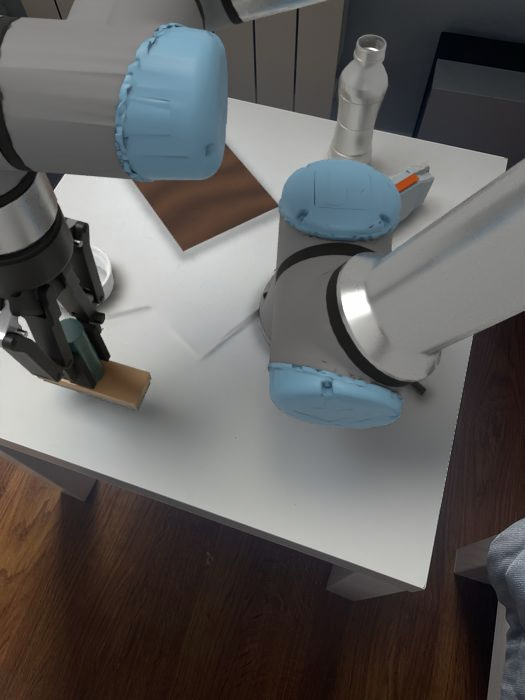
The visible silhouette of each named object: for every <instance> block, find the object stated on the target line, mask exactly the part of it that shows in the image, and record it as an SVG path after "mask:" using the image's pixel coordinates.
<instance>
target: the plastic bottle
mask: <svg viewBox="0 0 525 700" xmlns="http://www.w3.org/2000/svg"><path fill="white" fill-rule="evenodd" d="M386 49H387V41H386V39H385V38H383V37H382V36H379V35H376V34H364V35H362V36H360V37H359V38H358V39H357V41H356V44H355V49H354V51H353V55H352V56H353V60H351V61H349V63H348V64H347V65H346V66H345V67H344V68H343V70H342V71H341V73H340V75H339V78H338V84H337V85H338V86H337V87H338V91H337V92H338V94H337V95H338V106H337V116H336V117H337V118H336V123H335V128H334V132H333V137H332V139H331V141H330V144H329V147H328V150H327V159H344V160H352V161H356V162H360V163H364V164H366V165H369V166H370V163H371V161H372V156H373V138H374V129H375V126H376V124H375V123H376V122H377V118H378V114H379V111H380V109H381V106H382V103H383V101H384V98H385V96H386V94H387V90H388V87H389V78H388V73H387V71H386V68H385V66H384V63H383V62H384V60H385V56H386Z"/></svg>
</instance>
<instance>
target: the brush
mask: <svg viewBox="0 0 525 700" xmlns="http://www.w3.org/2000/svg"><path fill="white" fill-rule="evenodd" d="M60 323H61V326H62V328H63V331H64V334H65V336H66V339H67V342H68V344H69V347H70V350H71V352H72V353H75V354H79V355H80V356H81V357H82V359H83V361H84V363H85V364H86V366H87V368H88V369H89V371H90V373H91V375H92V376H93V378H94V380H95V382H96V383H97V384H96V386H95V388H94V390H93V389H89V388H86V387H83V386H80V385H76V384H73V383H70V381H68V380H65V379H61V380H60V381H59V382H58V383H57V382H54V381H51V380H47V379H44V378H41V377H38V376H36V377H37V378H38V379H40V380H42V381H43V382H45V383H49V384H52V385H54V386H57V387H58V386H59V387H61V388H65V389H68V390H71V391H75V392H77V393H81V394H84V395H87V396H89V397H93V398H97V399H99V400H102V401H106V402H108V403H112V404H115V405H117V406H121V407H125V408H128V409H131V410H134V411H139V409H140V407H141V405H142V403H143V401H144V399H145V397H146V394H147V392H148V390H149V388H150V386H151V381H152V379H153V378H152V375H151V372H149V371H147V370H143V369H140V368H137V367H133V366H130V365H126V364H123V363H121V362H116V361H113V360H110V359H109V361H108V362H106V361H103V360H100V358H99V356H98V354H97V352H96V351H95V349H94V347H93V345H92V343H91V341H90V339H89V337H88V335H87V333H86V331H85V329H84V327H83V325H82V323H81V322H80V321H79V320H77V319H76V318H75V317H68V318H64V319H61V320H60Z"/></svg>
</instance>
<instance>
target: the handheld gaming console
mask: <svg viewBox="0 0 525 700" xmlns="http://www.w3.org/2000/svg"><path fill="white" fill-rule="evenodd" d="M430 169H431V167H430V166H429V165H428V163H426V162H422V163H419V164H415V165H411V166H408V167H406V168H405V169H403V170H401V171H400V172H398V173H396V174H395V175H393V176H392V177H389V179H390V180H391V181H392V182H393V183H394V184H395V186H396V187H397V189H398V191H399V194H400V197H401V210H400V214H401V215H400V216H401V218H400V220H399V223H401V222H402V221H404V220H405V219H406V218H408V217H409V216H410V214H411V213H412V211H414V209H416V208H418V207H419V206H420V205H422V204H423V203H424V202H425V200H426V198H427V196H428V194H429V192H430V190H431V188H432V185H433V183H434V182H435V179H436V178H435V176H434V175H432V174H431V173H430Z"/></svg>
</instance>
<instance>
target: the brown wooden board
mask: <svg viewBox="0 0 525 700" xmlns="http://www.w3.org/2000/svg"><path fill="white" fill-rule="evenodd" d="M132 182H133V184H134V185H135V186H136V187H137V189H138V190H139V192H140V193H141V195H142V196H143V197H144V199H145V200H146V202H147V204H149V206H150V207H151V208H152V210H153V211H154V213H155V215H157V217H158V218H159V220H160V221H161V222H162V224H163V225H164V227H165V228H166V229H167V231H168V232H169V234H170V235H171V236H172V238H173V240H175V242H176V244H178V246H179V247H180V249H181V251H182V252H185V251H187V250H190V249H192V248H193V247H196V246H198V245H200V244H202V243H204V242H206V241H208V240H211V239H214V238H215V237H218V236H220V235H221V234H224V233H226V232H228V231H230V230H233V229H234V228H237V227H238V226H240V225H243V224H245V223H247V222H249V221H251V220H253V219H256V218H257V217H259V216H261V215H264V214H266V213H268V212H271V211H272V210H275V209H277V208H278V204H279V203H278V202H277V201H276V200H275V198H274V197H272V196H271V194H270V193H269V192H268V191H267V189H265V187H264V186H263V185H262V184H261V182H260V181H259V180H258V179H257V177H256V176H254V174H252V172H251V171H250V170H249V169H248V167H247V166H246V165H245V164H244V163H243V162H242V161H241V160H240V158H239V157H238V156H237V155H236V154H235V152H234V151H233V150H232V149H231V148H230V147H229V146H228V144H227V143H226V142H225V149H224V155H223V159H222V163H221V165H220V167H219V169H218V170H217V172H216V173H215V174H214V175H212V176H211V177H209V178H207V179H204V180H155V181H153V182H149V183H147V182H139V181H135V180H132Z"/></svg>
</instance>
